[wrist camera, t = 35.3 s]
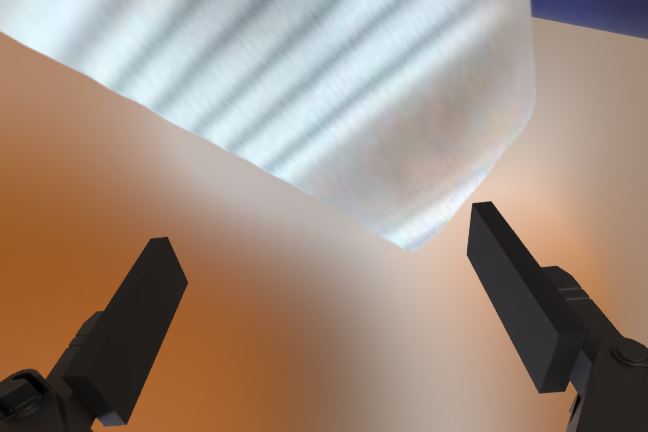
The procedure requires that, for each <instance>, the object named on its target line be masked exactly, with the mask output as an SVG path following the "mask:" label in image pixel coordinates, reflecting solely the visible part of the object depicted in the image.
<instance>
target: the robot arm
mask: <svg viewBox="0 0 648 432" xmlns="http://www.w3.org/2000/svg"><path fill="white" fill-rule="evenodd" d="M467 256H468V258H469V260H470V262H471V264H472V266H473V268H474V270H475V272H476V274H477V275H478V277H479V279H480V281H481V283H482V285H483V287H484V289H485V291H486V293H487V295H488V296H489V298H490V300H491V302H492V304H493V306H494V308H495V310H496V312H497V314H498V316H499V317H500V319H501V321H502V323H503V325H504V327H505V329H506V331H507V333H508V335H509V337H510V339H511V341H512V343H513V344H514V346H515V348H516V350H517V352H518V354H519V356H520V358H521V360H522V362H523V364H524V365H525V367H526V369H527V371H528V373H529V375H530V377H531V379H532V381H533V383H534V385H535V387H536V388H537V390H538V392H539V393H551V392H565V390H566V388H567V385H568V383H569V381H571V383H572V384H573V386H574V387H575V389H576V391H577V392H578V393H577V395H576V397H575V400H574V402H573V404H572V407H571V409H570V411H569V412H571V415H570V419H569V422H568V425H567V429H566V432H648V348H647V347H645V346H644V345H642V344H641V343H639V342H637V341H634V340H632V339H629V338H625V337H623V336H622V335H621V334H620V333H619V332H618V331H617V329H616V328H615V327H614V326H613V324H612V323H611V322H610V321H609V320H608V318H607V317H606V316H605V315H604V314H603V312H602V311H601V310H600V309H599V308H598V306H597V305H596V304H595V303H594V302H593V300H592V299H590V298H589V296H588V295H587V293H586V292H585V291H584V290H582V289H581V286H580V285H579V284H578V282H577V281H576V280H575V279H574V278H573V276H572V275H570V274H569V273H567V272H566V271H564V270H563V269H561V268H559V267H558V266H550V267H540V266H539V264H538V263H537V262H536V260H535V259H534V258H533V256H532V255H531V254H530V252H529V251H528V250H527V248H526V247H525V246H524V244H523V243H522V242H521V240H520V239H519V238H518V236H517V235H516V234H515V232H514V231H513V230H512V228H511V227H510V226H509V224H508V223H507V222H506V220H505V219H504V218H503V217H502V215H501V214H500V212H499V211H498V210H497V208H496V207H495V206H494V204H493V203H492V202H491V201H490V202H480V203H473V204H472V211H471V220H470V228H469V237H468V246H467ZM187 284H188V281H187V279H186V277H185V274H184V272H183V270H182V268H181V266H180V264H179V261H178V259H177V257H176V255H175V252H174V250H173V248H172V246H171V244H170V241H169V239H168V237H163V238H153V239H150V241H149V242H148V244H147V245H146V247H145V248H144V250H143V252H142V253H141V254H140V256H139V258H138V259H137V261H136V262H135V264H134V265H133V267H132V268H131V270H130V271H129V273H128V274H127V276H126V278H125V279H124V281H123V282H122V284H121V286H120V287H119V288H118V290H117V291H116V293H115V295H114V296H113V298H112V299H111V301H110V302H109V304H108V305H107V307H106V308H105V310H104V311H98V312H96V313H94V315H92V316H91V317H90V318H89V319H88V320H87V321H86V322H84V324H83V325H82V327H81V328H80V330H79V331H78V333H77V334H76V338H73V340H72V341H71V343H70V344H69V348H67V349H66V350H65V352H64V353H63V354H62V356H61V357H60V359H59V360H58V362H57V363H56V365H55V366H54V368H53V369H52V370H51V372H50V374H49V375H48V376H47V378H46V379H44V378H43V377H42V376H41V374H40V373H39V372H38V371H37V370H34V369H25V370H21V371H19V372H16V373H14V374H12V375H10V376H9V377H7V378H6V379H4V380H3V381H1V382H0V432H93V431H92V429H91V426H92V424H93V422H94V420H95V418H97V419H98V420H99V421H100V422H101V423H102V424H103V426H118V425H127V423H128V421H129V418H130V416H131V414H132V411H133V409H134V407H135V404H136V402H137V400H138V397H139V395H140V393H141V390H142V388H143V386H144V384H145V381H146V379H147V377H148V374H149V372H150V370H151V368H152V365H153V363H154V361H155V358H156V356H157V354H158V351H159V349H160V346H161V344H162V342H163V340H164V337H165V335H166V333H167V330H168V328H169V326H170V323H171V321H172V319H173V317H174V314H175V312H176V310H177V307H178V305H179V303H180V300H181V298H182V296H183V294H184V291H185V289H186V287H187Z"/></svg>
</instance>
